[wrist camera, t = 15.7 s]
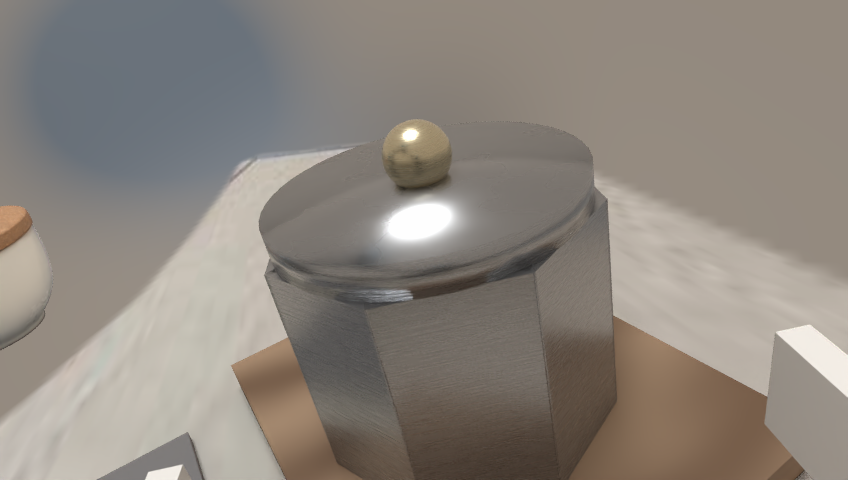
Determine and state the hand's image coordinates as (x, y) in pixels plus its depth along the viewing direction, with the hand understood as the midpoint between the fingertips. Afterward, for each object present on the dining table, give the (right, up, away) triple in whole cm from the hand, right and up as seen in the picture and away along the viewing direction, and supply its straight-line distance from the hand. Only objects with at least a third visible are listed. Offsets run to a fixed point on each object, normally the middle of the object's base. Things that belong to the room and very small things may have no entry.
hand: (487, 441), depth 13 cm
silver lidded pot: (0, -2, +11) cm, 12 cm away
